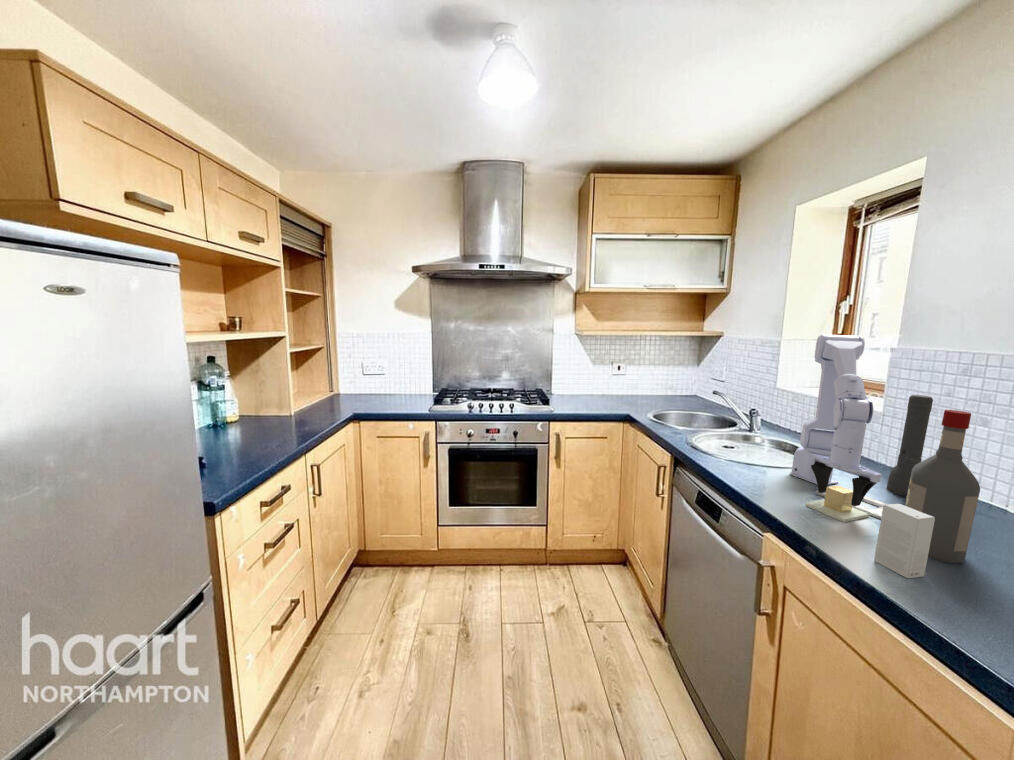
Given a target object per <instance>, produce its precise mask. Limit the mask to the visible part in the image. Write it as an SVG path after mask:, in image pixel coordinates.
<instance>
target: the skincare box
mask: <svg viewBox="0 0 1014 760" xmlns="http://www.w3.org/2000/svg"><path fill="white" fill-rule="evenodd" d="M887 504H888V503H887ZM934 521H935V517H933V516H930V515H927V514H925V513H922V512H920V511H917V510H915V509H912V508H909V507H907V506H905V504H904V505H903V504H901V503H894V504H892V503H891V504H888V505H883V511H882V517H881V519H880V523H879V529H878V534H877V535H878V536H877V540H876V546H875V552H874V556H873V557H874V558H873V560H874V562H875V563H878V564H880V565H881V566H882V567H884V568H887V569H889V570H891V571H893V572H894V573H897V574H898V575H900V576H902V577H904V578H906V579H914V578H922V577H925V573H926V568H927V562H928V558H929V557H928V553H929V548H930V542H931V537H932V532H933V526H934Z"/></svg>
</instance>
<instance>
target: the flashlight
mask: <svg viewBox="0 0 1014 760" xmlns="http://www.w3.org/2000/svg"><path fill="white" fill-rule="evenodd" d="M933 402H934V399H933V397H932V396H927V395H924V394H923V395H921V394H911V395H910V396H909V397H908V403H907V407H906V409H907V411H906V417H905V421H904V427H903V433H902V436H901V437H902V438H901V443H900V449H899V454H898V457H897V462H896V465H895V466H893V467H892V468H891V470H890V471H889V474H888V479H887V483H886V490H887V491H888V492H890V493H893V494H896V495H899V496H904V497H907V493H908V488H909V482H910V477H911V472H912V469H913V467H914V466H915V465H916V464H918V463H920V462H922V461H923V460H922V457H923V451H924V446H925V441H926V436H927V430H928V425H929V421H930V415H931V412H932V407H933V404H934V403H933Z"/></svg>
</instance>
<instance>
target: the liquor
mask: <svg viewBox="0 0 1014 760" xmlns="http://www.w3.org/2000/svg"><path fill="white" fill-rule="evenodd" d="M971 418H972V413H971V412H969V411H968V412H967V411H964V410H955V409H944V411H943V415H942V422H941V425H942V432H941V435H940V439H939V440H940V441H939V444H938V449H937V450H935V454H934V455H932V456H930V457H928V458H925V459H924V460H921V462H920V463H918V464H916V465H915V466H914V467H913V469H912V472H911V477H910V482H909V488H908V493H907V496H906V499H905V504H904V506H907V507H909V508H912V509H915V510H917V511H920V512H922V513H925V514H927V515H930V516H933V517H935V521H934V526H933V532H932V537H931V542H930V548H929V553H928V558H929V559H933V560H936V561H940V562H943V563H947V564H961V563H963V562H964V561H965V560H966V556H967V552H968V546H969V542H970V539H971V538H970V537H971V532H972V530H973V525H974V520H975V519H974V518H975V515H976V511H977V506H978V501H979V498H980V492H981V486H980V484H979V483H980V482H979V481H978V479H977V478H976V477H975V475H974V474H973V472H972V471H971V470H970V468H968V466H967V465H966V464H965V462H963V458H964V457H963V449H964V443H965V438H966V432H967V430H968V429H969V428H970V423H971Z"/></svg>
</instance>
